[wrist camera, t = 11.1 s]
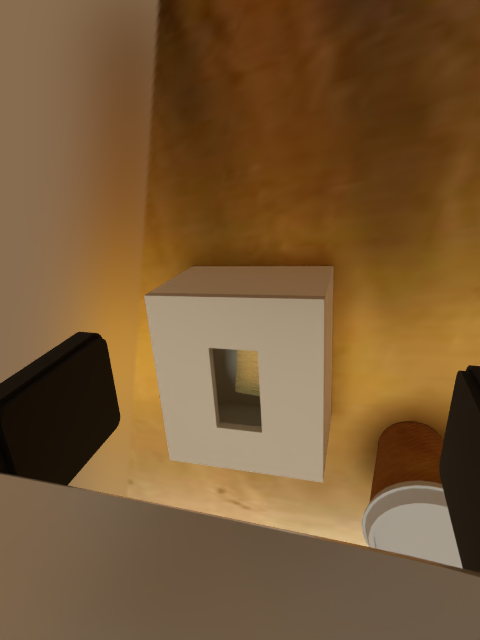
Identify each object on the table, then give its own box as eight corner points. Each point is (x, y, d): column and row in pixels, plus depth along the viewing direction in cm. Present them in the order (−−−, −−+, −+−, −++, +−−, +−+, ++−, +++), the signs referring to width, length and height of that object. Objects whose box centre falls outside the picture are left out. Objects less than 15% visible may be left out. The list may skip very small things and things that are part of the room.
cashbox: (192, 266, 41) (144, 295, 32) (333, 265, 37) (324, 299, 28) (207, 402, 46) (169, 460, 37) (331, 414, 42) (323, 482, 33)
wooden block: (248, 367, 42) (251, 318, 40) (271, 371, 42) (275, 322, 40) (235, 391, 38) (237, 338, 36) (260, 396, 37) (263, 342, 35)
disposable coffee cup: (344, 453, 44) (339, 548, 33) (396, 390, 39) (409, 476, 29) (423, 499, 43) (443, 611, 32) (484, 440, 39) (531, 547, 28)
